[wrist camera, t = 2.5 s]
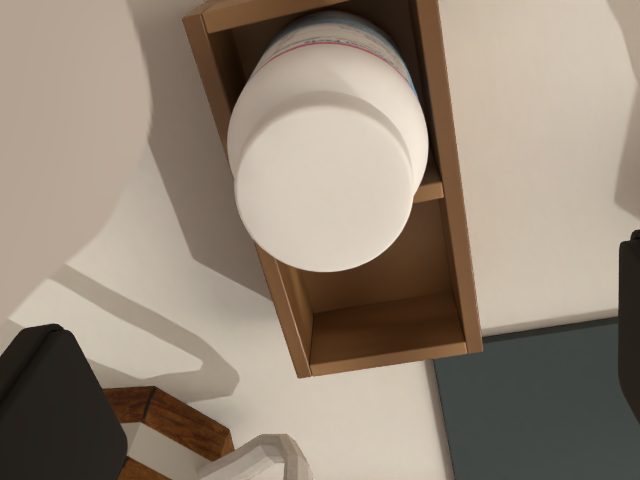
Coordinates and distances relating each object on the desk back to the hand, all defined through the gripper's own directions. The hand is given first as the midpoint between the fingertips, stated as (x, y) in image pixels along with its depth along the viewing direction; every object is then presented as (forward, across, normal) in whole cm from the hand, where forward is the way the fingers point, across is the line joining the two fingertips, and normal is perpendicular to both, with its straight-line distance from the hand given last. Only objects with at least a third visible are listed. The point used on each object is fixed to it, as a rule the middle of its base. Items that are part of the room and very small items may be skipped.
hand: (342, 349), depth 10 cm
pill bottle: (+17, +1, 0) cm, 17 cm away
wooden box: (+18, +1, +4) cm, 18 cm away
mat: (+18, -9, +22) cm, 29 cm away
